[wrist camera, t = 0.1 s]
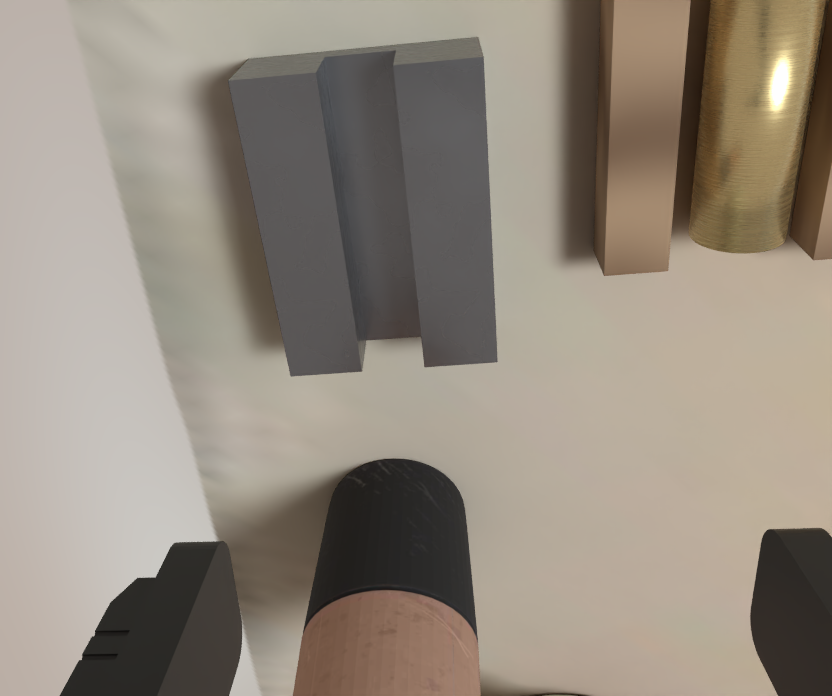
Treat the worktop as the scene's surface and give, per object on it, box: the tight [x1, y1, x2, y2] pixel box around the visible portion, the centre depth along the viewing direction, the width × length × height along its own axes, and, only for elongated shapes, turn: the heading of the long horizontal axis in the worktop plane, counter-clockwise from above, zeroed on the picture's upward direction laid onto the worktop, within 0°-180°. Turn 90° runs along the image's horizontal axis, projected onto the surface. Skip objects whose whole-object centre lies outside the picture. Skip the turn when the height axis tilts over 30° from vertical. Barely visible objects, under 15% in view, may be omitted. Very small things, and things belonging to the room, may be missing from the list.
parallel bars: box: [594, 0, 832, 276], centre depth 29 cm, size 12×11×2 cm
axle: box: [689, 0, 826, 253], centre depth 28 cm, size 10×4×4 cm, turn 5°
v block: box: [228, 37, 497, 376], centre depth 31 cm, size 12×9×4 cm
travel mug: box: [293, 459, 481, 696], centre depth 33 cm, size 8×8×20 cm
